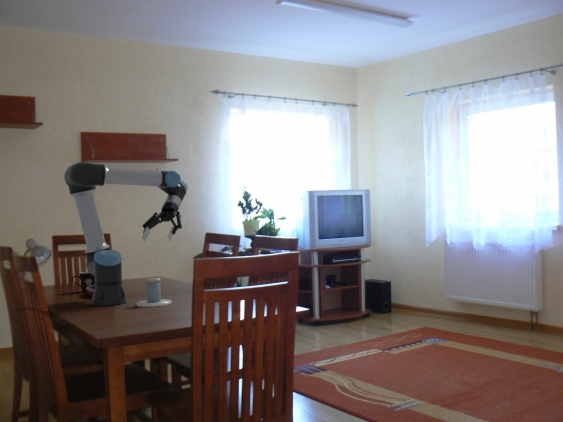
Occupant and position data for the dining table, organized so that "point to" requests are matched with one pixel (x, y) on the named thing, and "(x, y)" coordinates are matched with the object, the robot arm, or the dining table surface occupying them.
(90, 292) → the dish
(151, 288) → the jar
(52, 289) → the dining table surface
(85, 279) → the coffee mug
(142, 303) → the plate
